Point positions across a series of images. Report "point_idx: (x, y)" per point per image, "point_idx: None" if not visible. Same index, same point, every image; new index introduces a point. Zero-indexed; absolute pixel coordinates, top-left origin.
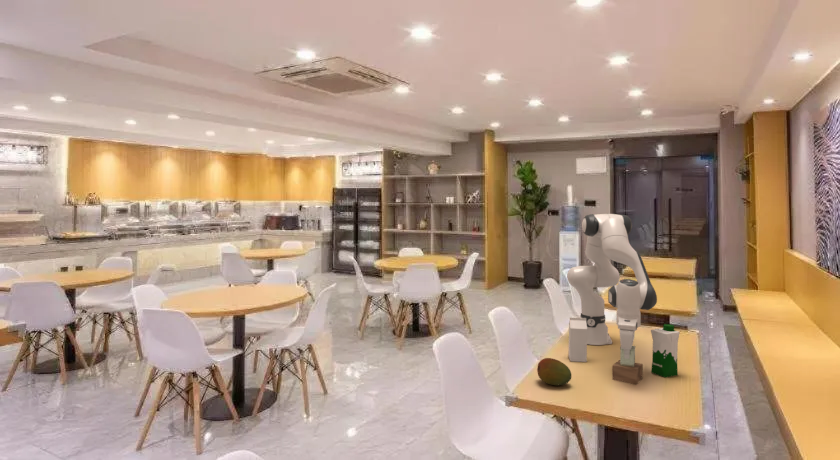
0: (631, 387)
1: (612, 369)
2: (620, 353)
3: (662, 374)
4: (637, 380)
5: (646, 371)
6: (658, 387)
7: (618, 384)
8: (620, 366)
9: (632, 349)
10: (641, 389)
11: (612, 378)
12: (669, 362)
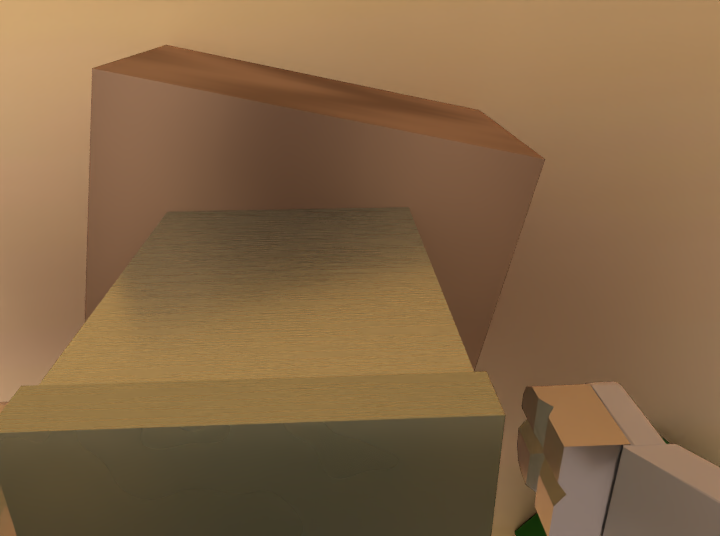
0: (5, 291)
1: (121, 59)
2: (86, 325)
3: (538, 530)
4: None
5: (668, 383)
6: None
7: (9, 144)
8: (103, 218)
9: None
10: (13, 383)
11: (161, 47)
12: None
